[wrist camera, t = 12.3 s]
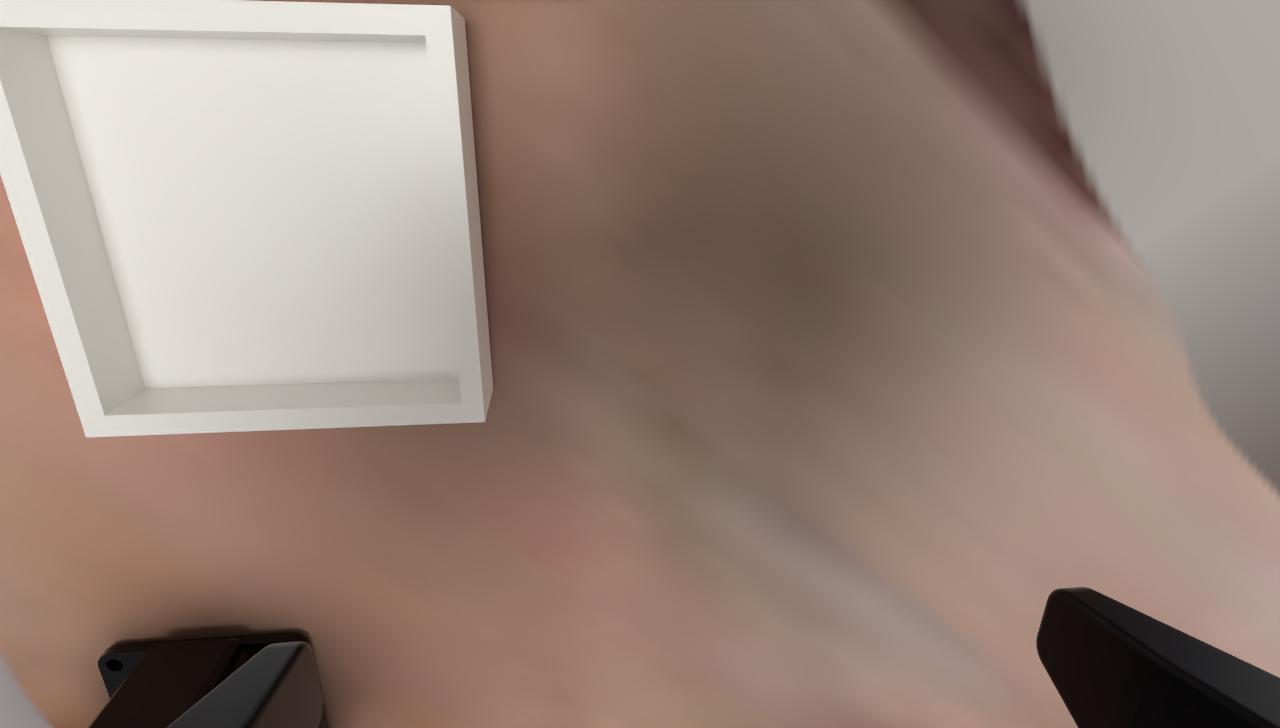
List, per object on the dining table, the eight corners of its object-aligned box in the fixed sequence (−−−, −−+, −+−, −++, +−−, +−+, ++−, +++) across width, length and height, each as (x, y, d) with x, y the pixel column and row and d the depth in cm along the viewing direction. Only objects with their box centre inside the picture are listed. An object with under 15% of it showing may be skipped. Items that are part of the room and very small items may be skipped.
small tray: (493, 389, 20) (485, 422, 18) (139, 401, 19) (86, 437, 17) (464, 19, 17) (450, 5, 15) (26, 9, 16) (-59, -7, 14)
